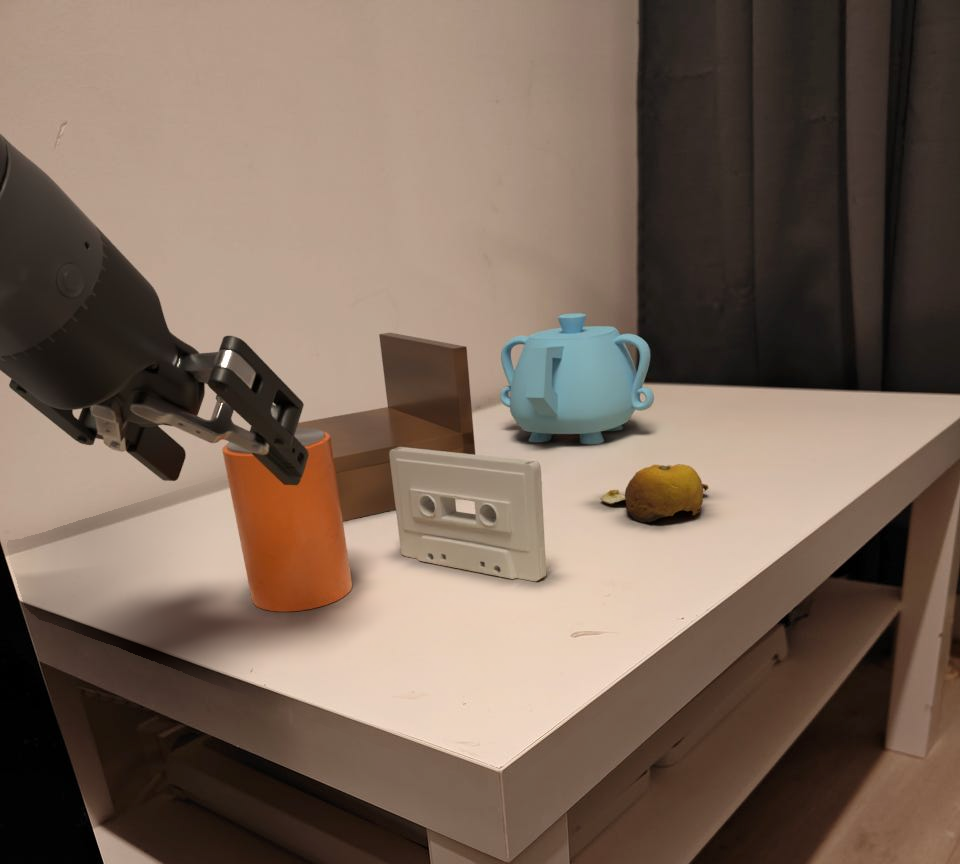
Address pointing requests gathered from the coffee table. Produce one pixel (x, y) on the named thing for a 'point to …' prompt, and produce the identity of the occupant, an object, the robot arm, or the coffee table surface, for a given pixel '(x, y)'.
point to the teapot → (575, 380)
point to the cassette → (463, 536)
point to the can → (290, 528)
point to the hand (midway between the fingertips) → (235, 469)
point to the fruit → (661, 492)
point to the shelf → (401, 420)
